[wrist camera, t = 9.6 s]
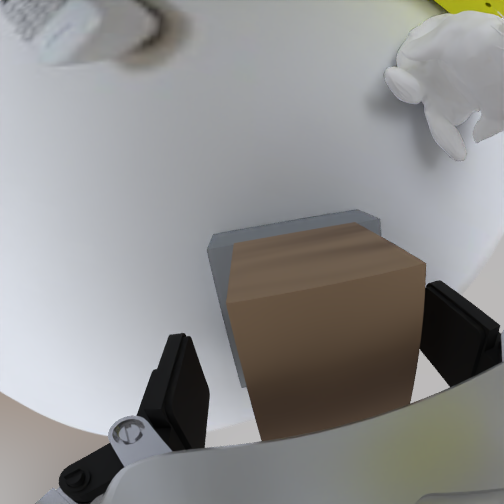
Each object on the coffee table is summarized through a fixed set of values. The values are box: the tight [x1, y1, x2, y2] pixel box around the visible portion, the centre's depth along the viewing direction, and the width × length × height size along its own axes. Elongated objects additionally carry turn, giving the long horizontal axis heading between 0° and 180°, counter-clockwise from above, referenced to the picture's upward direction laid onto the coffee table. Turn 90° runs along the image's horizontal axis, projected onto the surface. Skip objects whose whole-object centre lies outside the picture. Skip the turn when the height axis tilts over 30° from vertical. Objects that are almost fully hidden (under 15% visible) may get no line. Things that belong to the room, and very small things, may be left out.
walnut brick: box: [226, 222, 426, 441], centre depth 11 cm, size 8×6×6 cm
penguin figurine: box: [384, 11, 504, 161], centre depth 8 cm, size 6×8×12 cm
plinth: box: [207, 210, 381, 388], centre depth 16 cm, size 8×8×3 cm
